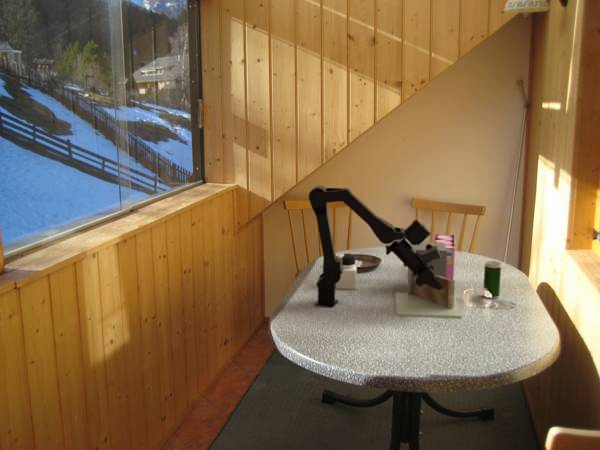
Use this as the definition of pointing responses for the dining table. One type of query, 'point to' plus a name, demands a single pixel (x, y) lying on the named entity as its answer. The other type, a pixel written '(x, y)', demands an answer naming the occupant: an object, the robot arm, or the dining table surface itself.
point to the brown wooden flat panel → (437, 291)
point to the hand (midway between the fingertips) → (440, 289)
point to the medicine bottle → (347, 272)
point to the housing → (420, 306)
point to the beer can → (492, 278)
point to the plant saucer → (367, 262)
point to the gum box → (448, 253)
